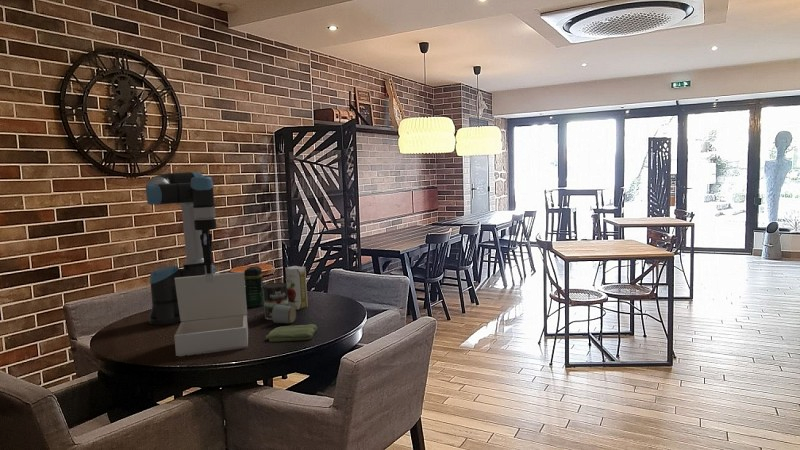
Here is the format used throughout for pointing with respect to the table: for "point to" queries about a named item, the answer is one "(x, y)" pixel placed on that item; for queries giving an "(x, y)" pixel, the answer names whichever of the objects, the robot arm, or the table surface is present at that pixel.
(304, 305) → the juice carton
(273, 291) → the coffee can
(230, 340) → the box
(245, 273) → the coffee jar
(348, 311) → the table surface
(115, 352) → the table surface
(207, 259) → the robot arm
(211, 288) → the lid
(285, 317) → the ceramic mug
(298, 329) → the washcloth
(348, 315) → the table surface
